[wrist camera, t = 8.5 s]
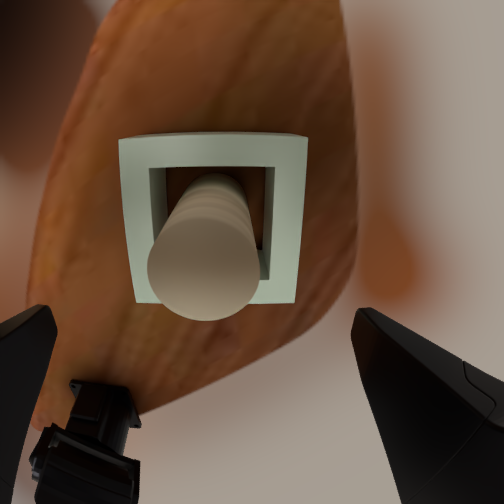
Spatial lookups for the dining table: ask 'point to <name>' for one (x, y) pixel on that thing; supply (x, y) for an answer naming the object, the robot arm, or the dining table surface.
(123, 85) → the dining table surface
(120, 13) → the dining table surface
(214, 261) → the peg
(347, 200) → the dining table surface
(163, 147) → the socket
